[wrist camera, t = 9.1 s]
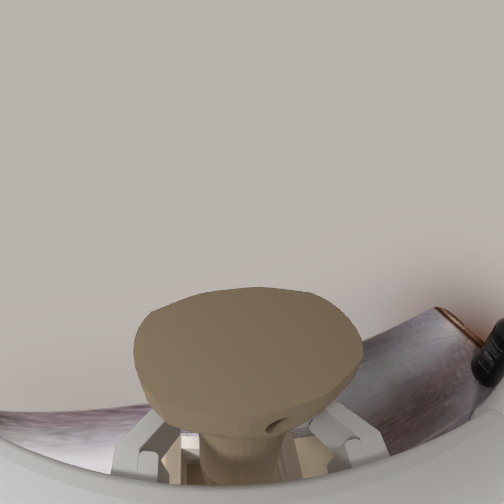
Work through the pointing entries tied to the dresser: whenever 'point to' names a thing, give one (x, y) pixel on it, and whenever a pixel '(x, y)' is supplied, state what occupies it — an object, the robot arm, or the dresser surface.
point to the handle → (244, 372)
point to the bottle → (492, 401)
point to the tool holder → (288, 468)
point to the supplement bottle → (491, 357)
